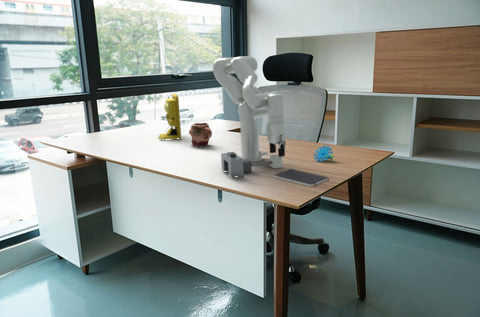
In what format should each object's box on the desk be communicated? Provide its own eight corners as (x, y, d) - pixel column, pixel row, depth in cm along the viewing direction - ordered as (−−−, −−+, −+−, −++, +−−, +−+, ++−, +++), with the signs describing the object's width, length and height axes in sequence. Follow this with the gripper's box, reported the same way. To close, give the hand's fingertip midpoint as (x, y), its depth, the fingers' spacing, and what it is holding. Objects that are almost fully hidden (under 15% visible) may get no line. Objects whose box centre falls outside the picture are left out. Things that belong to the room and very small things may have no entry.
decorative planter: (220, 145, 245) (219, 123, 242) (206, 149, 237) (205, 126, 233) (198, 142, 258) (197, 121, 255) (184, 145, 249) (182, 124, 246)
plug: (278, 165, 197) (278, 154, 195) (282, 167, 193) (282, 156, 191) (237, 170, 189) (236, 159, 188) (240, 173, 185) (239, 161, 184)
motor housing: (233, 168, 194) (232, 149, 191) (243, 176, 181) (242, 155, 178) (221, 170, 192) (220, 150, 189) (231, 178, 179) (230, 157, 176)
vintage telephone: (157, 134, 289) (153, 93, 281) (175, 133, 293) (172, 92, 285) (161, 142, 260) (158, 97, 252) (182, 140, 264) (179, 96, 256)
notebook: (328, 180, 172) (290, 172, 187) (328, 177, 172) (290, 168, 187) (311, 187, 164) (273, 178, 179) (311, 184, 164) (273, 174, 178)
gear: (309, 156, 205) (320, 142, 206) (314, 162, 209) (325, 148, 210) (325, 163, 197) (336, 148, 198) (330, 169, 201) (341, 154, 202)
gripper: (261, 118, 194) (263, 152, 198) (276, 122, 179) (278, 158, 182) (275, 117, 197) (276, 150, 201) (291, 120, 181) (292, 156, 185)
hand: (277, 154), depth 192 cm, fingers open, 9 cm apart
